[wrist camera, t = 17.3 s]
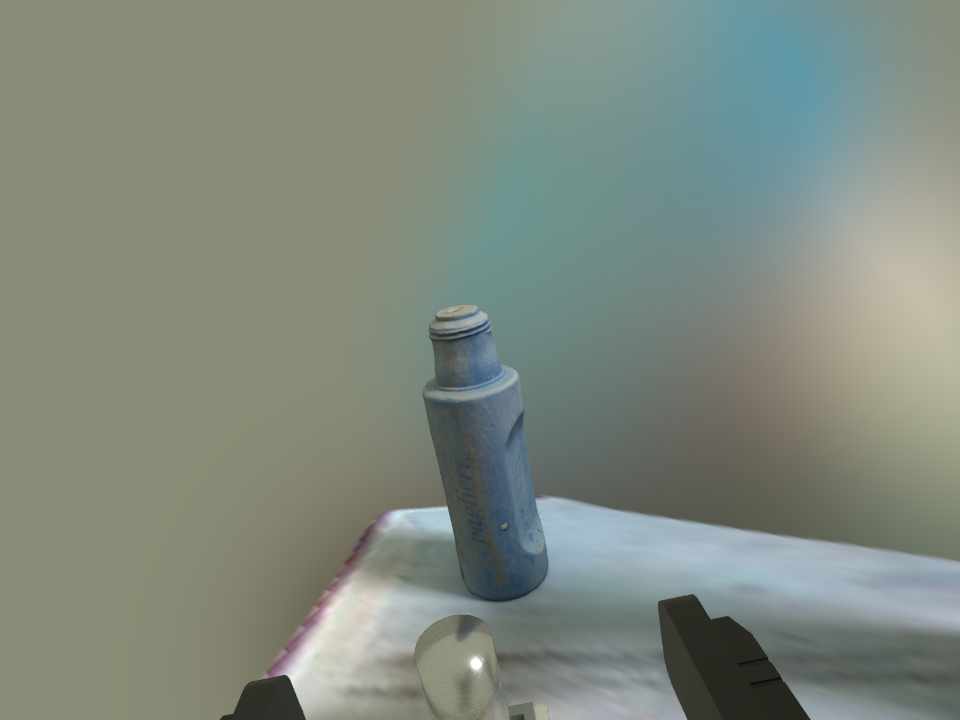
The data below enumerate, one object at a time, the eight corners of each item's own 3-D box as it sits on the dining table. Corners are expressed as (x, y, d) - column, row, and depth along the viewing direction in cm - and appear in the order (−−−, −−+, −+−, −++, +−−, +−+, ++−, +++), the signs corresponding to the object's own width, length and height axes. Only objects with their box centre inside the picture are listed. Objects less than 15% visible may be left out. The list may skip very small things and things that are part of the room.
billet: (537, 771, 37) (508, 633, 34) (491, 838, 34) (453, 692, 31) (484, 733, 41) (452, 604, 37) (437, 790, 37) (398, 655, 34)
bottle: (482, 540, 65) (433, 301, 57) (560, 548, 61) (519, 293, 53) (448, 595, 57) (384, 326, 49) (535, 610, 53) (482, 318, 45)
